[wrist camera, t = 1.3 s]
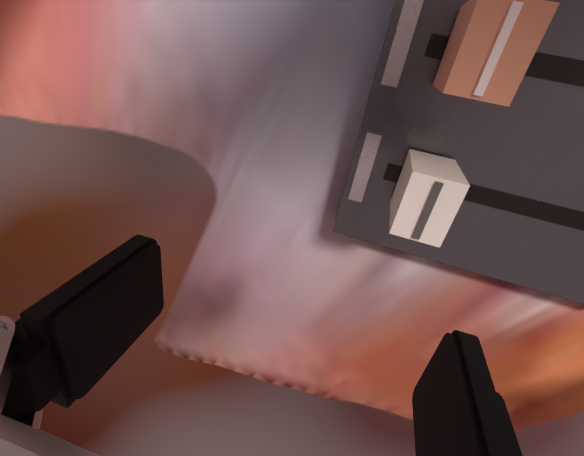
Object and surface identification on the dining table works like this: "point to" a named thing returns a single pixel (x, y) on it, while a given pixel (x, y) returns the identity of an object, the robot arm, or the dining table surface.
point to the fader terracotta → (492, 48)
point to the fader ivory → (426, 197)
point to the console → (480, 153)
